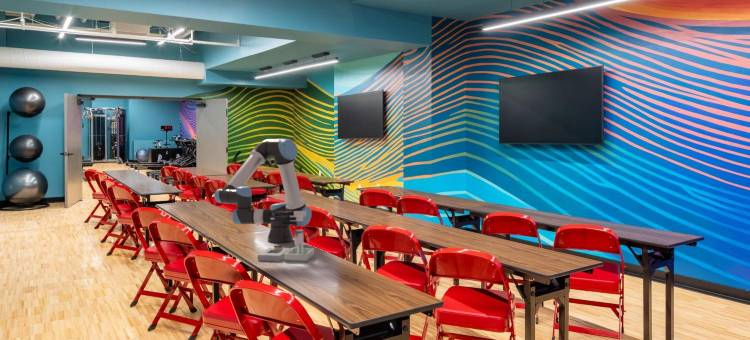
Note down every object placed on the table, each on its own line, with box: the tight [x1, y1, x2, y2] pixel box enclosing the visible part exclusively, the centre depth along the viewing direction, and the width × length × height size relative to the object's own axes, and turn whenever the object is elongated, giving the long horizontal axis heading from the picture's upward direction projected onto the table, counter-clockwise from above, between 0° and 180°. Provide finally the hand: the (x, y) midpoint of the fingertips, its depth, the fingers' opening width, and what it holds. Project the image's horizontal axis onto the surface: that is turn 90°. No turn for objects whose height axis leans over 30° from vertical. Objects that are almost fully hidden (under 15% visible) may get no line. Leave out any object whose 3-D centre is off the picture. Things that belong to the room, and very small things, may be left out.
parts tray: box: [283, 247, 315, 263], centre depth 255 cm, size 14×12×4 cm
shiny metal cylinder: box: [294, 228, 304, 254], centre depth 255 cm, size 4×4×14 cm
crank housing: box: [257, 245, 291, 262], centre depth 258 cm, size 16×12×5 cm
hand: (304, 215), depth 254 cm, fingers open, 13 cm apart
